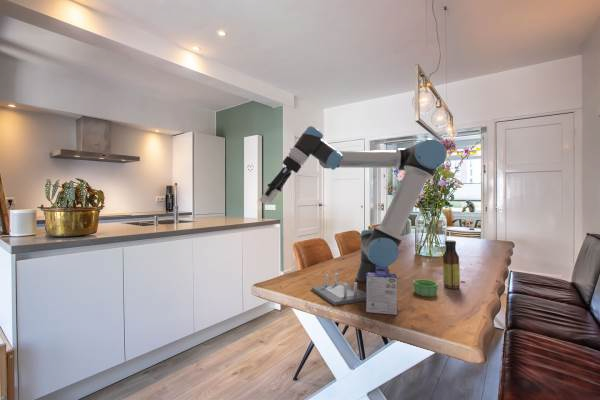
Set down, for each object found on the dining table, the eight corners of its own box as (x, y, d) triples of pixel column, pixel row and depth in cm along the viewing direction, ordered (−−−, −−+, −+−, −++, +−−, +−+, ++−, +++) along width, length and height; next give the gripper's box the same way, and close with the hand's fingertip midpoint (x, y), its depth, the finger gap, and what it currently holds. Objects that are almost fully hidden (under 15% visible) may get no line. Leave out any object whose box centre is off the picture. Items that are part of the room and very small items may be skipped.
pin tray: (345, 285, 123) (345, 270, 123) (371, 299, 106) (371, 282, 106) (311, 289, 116) (311, 274, 116) (334, 305, 100) (334, 287, 100)
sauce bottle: (459, 286, 122) (460, 240, 122) (460, 290, 117) (461, 242, 116) (442, 284, 125) (442, 239, 125) (442, 288, 119) (443, 241, 119)
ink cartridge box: (395, 308, 97) (396, 266, 97) (397, 315, 92) (398, 270, 92) (365, 306, 99) (366, 265, 99) (366, 312, 94) (366, 269, 94)
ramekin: (425, 288, 119) (425, 278, 119) (443, 295, 111) (443, 284, 111) (408, 291, 116) (408, 280, 116) (425, 298, 107) (425, 287, 107)
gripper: (290, 158, 131) (263, 196, 132) (284, 150, 106) (251, 196, 107) (303, 168, 131) (276, 205, 132) (300, 162, 106) (267, 208, 107)
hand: (265, 201), depth 120 cm, fingers open, 13 cm apart
